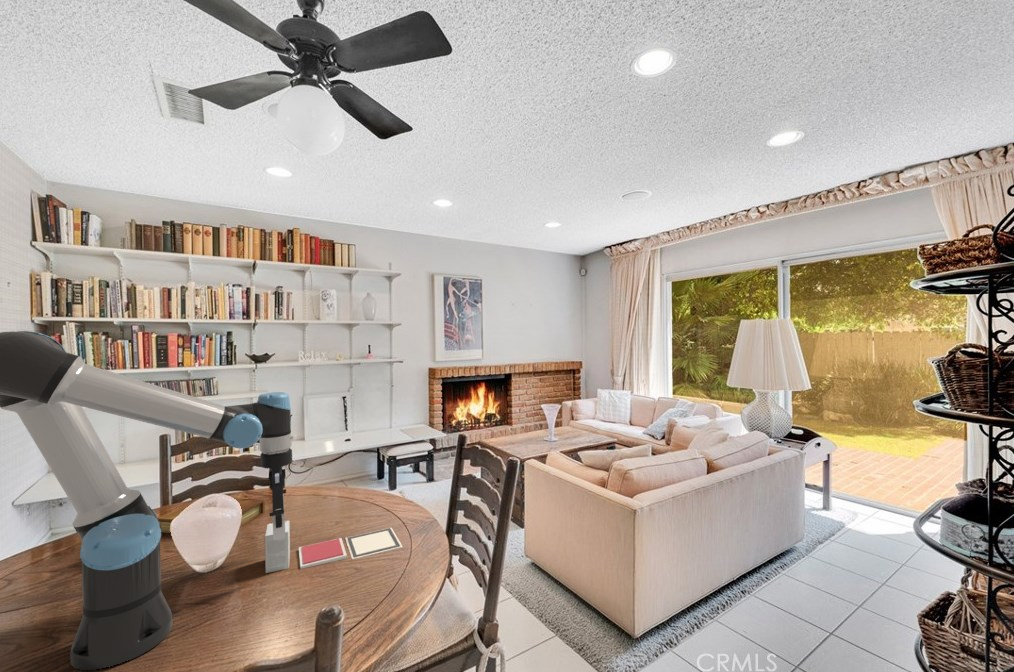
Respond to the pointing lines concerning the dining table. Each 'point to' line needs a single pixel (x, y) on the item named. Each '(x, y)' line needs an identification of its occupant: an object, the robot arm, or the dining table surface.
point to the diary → (249, 506)
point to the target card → (372, 543)
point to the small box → (277, 550)
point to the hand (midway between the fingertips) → (279, 528)
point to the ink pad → (322, 553)
